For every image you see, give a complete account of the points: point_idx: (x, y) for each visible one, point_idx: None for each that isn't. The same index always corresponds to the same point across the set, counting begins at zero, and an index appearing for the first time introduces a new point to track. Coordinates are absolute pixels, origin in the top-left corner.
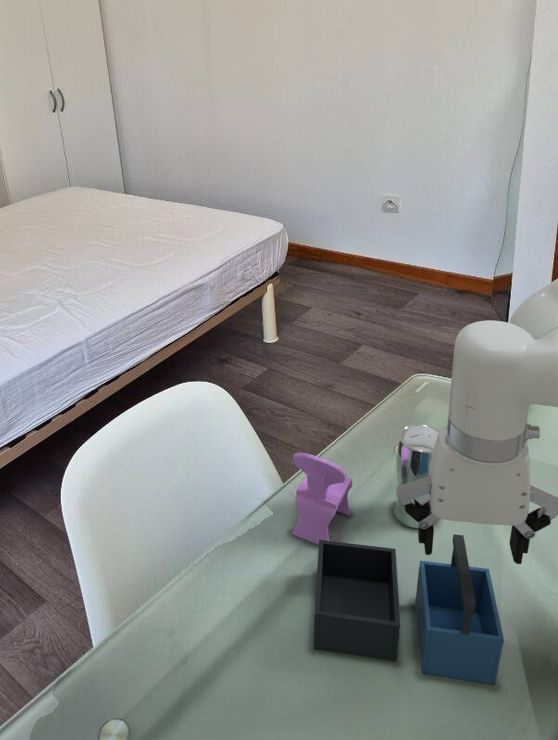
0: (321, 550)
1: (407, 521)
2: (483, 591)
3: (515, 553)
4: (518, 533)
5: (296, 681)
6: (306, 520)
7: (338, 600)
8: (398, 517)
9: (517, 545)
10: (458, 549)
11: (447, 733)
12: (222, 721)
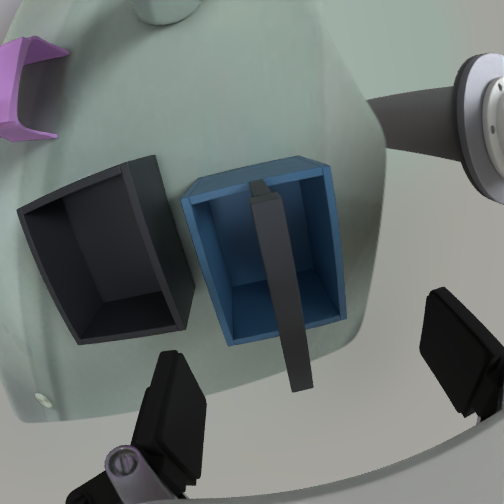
0: (27, 232)
1: (155, 21)
2: (312, 179)
3: (434, 371)
4: (471, 398)
5: (108, 342)
6: (6, 135)
7: (95, 231)
8: (140, 18)
9: (449, 396)
10: (271, 265)
11: (267, 340)
12: (84, 384)
